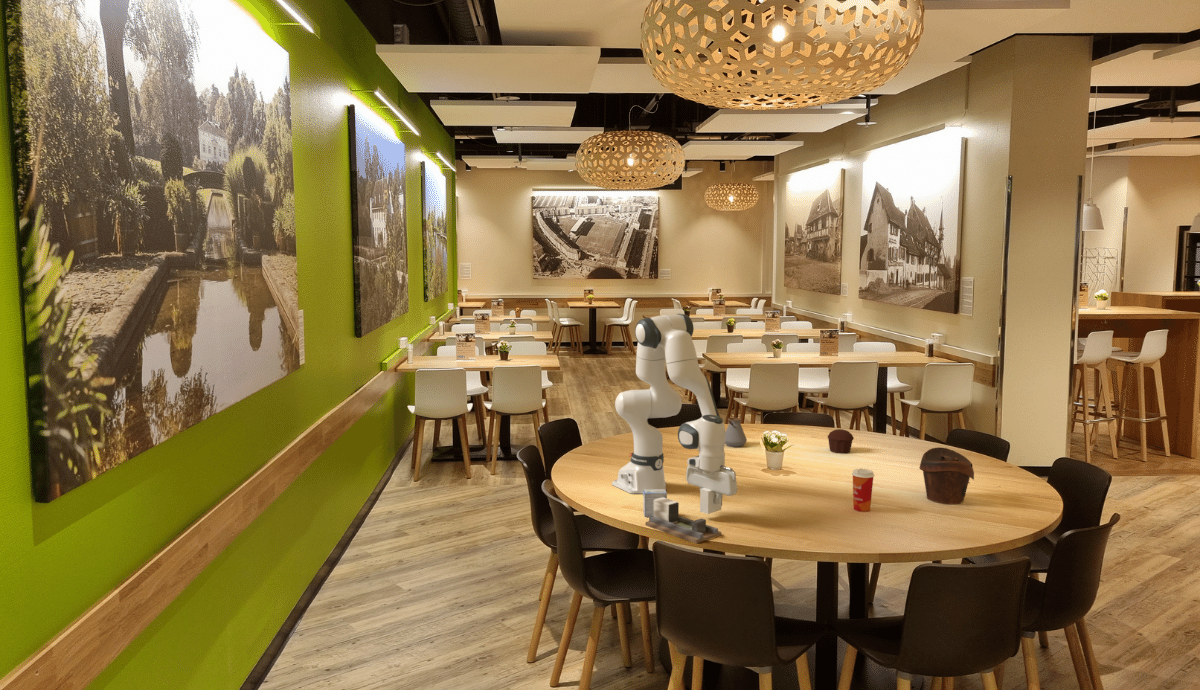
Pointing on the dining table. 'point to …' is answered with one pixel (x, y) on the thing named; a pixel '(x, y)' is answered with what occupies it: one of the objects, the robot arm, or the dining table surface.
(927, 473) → the chocolate cupcake
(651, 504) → the medicine box
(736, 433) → the coffee pot
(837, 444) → the muffin
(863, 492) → the paper cup
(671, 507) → the rail
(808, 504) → the dining table surface
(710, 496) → the white box
